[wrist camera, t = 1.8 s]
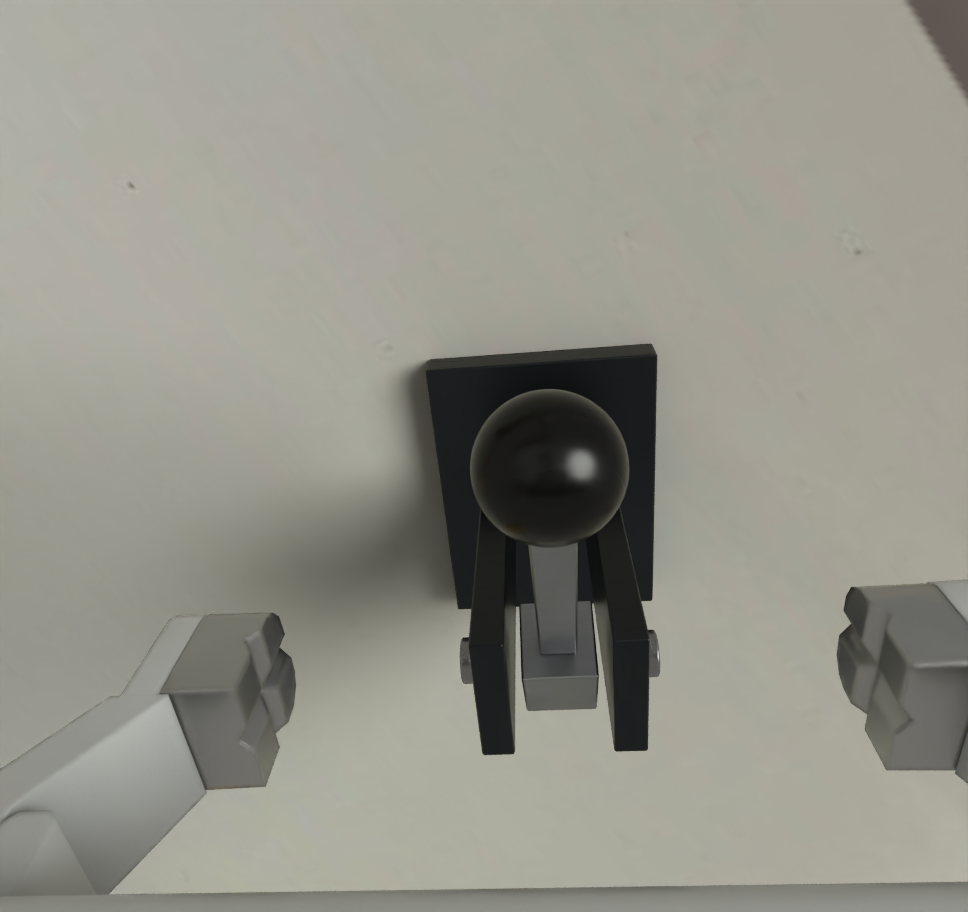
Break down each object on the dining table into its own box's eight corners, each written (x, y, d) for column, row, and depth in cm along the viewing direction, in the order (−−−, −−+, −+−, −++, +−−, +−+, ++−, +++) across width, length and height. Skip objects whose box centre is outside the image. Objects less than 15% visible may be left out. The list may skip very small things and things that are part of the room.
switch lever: (462, 361, 15) (459, 493, 13) (623, 350, 15) (644, 484, 13) (509, 629, 25) (511, 725, 23) (604, 625, 25) (614, 721, 23)
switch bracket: (428, 359, 30) (374, 536, 19) (652, 343, 29) (734, 517, 18) (459, 592, 36) (433, 837, 25) (648, 583, 35) (709, 831, 24)
